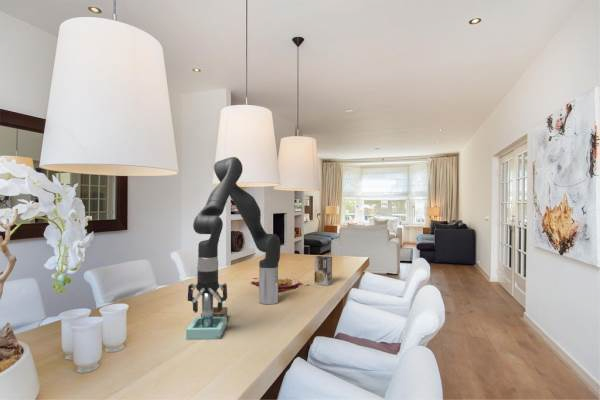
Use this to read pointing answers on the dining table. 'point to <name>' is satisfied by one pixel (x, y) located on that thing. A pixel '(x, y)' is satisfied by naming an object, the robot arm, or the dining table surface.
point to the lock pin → (207, 310)
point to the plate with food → (284, 283)
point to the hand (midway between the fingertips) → (207, 311)
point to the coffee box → (323, 270)
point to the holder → (219, 314)
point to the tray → (206, 329)
